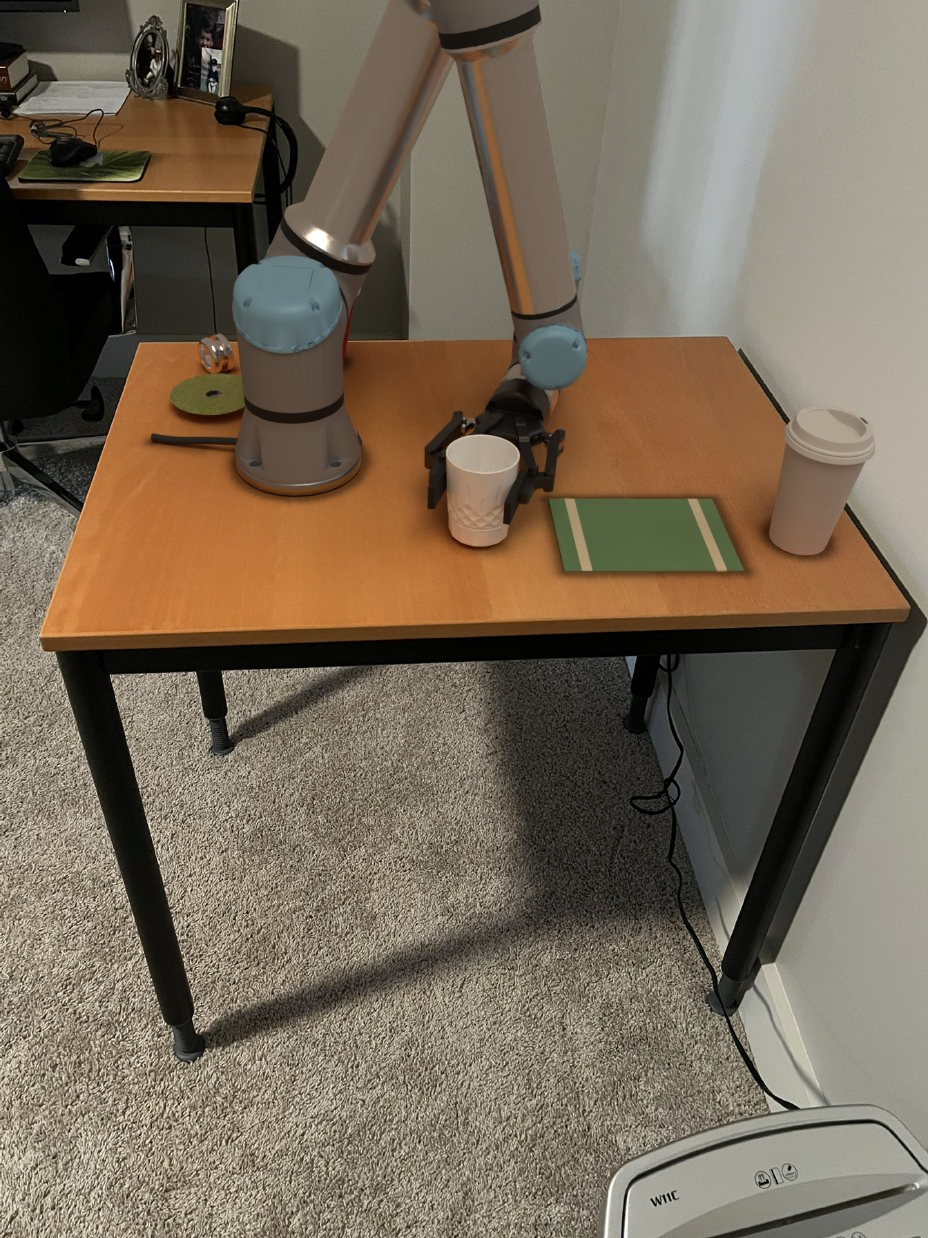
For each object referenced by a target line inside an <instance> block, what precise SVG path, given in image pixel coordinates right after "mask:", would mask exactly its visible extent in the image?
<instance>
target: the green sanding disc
mask: <svg viewBox="0 0 928 1238" xmlns="http://www.w3.org/2000/svg"><path fill="white" fill-rule="evenodd" d="M169 400H170V402H171V404H172V405H173V406H175V408H177V409H179V410H181V411H184V412H187V413H189V414H196V415H198V416H199V415H201V416H202V415H203V416H215V415H226V414H230V413H232V412H237V411H238V410H241V409H243V408H245V402H244V393H243V386H242V377H241V375H235V374H230V373H228V374H227V373H222V372H220V373H214V374H212V373H207V374H201V375H195V376H193V377H188V378H187V379H184V380H182V381H180V382H179V383H177V384H176V385H175V386H173V388H172V389H171V390H170V393H169Z"/></svg>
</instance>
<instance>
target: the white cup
mask: <svg viewBox="0 0 928 1238" xmlns="http://www.w3.org/2000/svg"><path fill="white" fill-rule="evenodd" d="M519 458H520V453H519V451H518V449H517V448H516V446H515V445H513V444H512V443H511V442H509V441H507V440H505V439H503V438H500V437H496V436H491V435H469V436H467V435H466V436H465V437H461V438H459V439H457V440H455V441H453V442H452V443H451V444H450V445H449V446H448V447H447V449H446V480H447V489H446V497H447V498H446V501H447V503H446V504H447V512H448V529H449V532H450V534H451V536H452V538H454V539H455V540H457V541H458V542H459V543H461V544H464V545H468V546H471V547H489V546H493V545H496V544H499V543H501V542H502V541H503V540H504V539H506V538H507V537H508V532H509V530H510V525H507V524H503V513H504V502H505V500H506V498H507V496H508V494H509V492H510V490H511V487H512V485H513V483H514V481H515V480H516V478H517V475H518V473H519Z"/></svg>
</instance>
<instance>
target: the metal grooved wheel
mask: <svg viewBox="0 0 928 1238" xmlns="http://www.w3.org/2000/svg"><path fill="white" fill-rule="evenodd" d="M197 351H198V357H199V359H200V362H201V364H202V366H203V367H204V369H205V370H206V371H207V372H208V373H209V374H214V373H217V374H220V373H221V371H222V372H227V371H229V370H230V371H231V370H232V369H233V368H234V367H235V355H234V352H233V348H232V346H231V344H230V342H229V340H228V339H227V338H226V337H225V335H223V334H222V333H215V334H213V335H211V336H210V337H208V336H206V337H203V338H201V339H200V340H199V341H198V346H197Z"/></svg>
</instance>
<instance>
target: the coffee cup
mask: <svg viewBox="0 0 928 1238" xmlns="http://www.w3.org/2000/svg"><path fill="white" fill-rule="evenodd" d="M782 432H783V435H782V437H783V439H784V441H785V445H784V451H783V455H782V456H783V457H782V461H781V468H780V472H779V478H778V482H777V488H776V493H775V494H776V495H775V499H774V503H773V509H772V514H771V520H770V525H769V530H768V537H769V539H770V541H771V542H772V543H773V544H774V545H775V546H776V547H777V548H778V549H780V550H782V551H784V552H787V553H789V554H793V555H797V556H815V555H818V554H820V553H822V552H824V551H825V549H826V547H827V545H828V543H829V542H830V539H831V536H832V535H833V532H834V530H835V528H836V526H837V523H838V522H839V519H840V517H841V515H842V513H843V511H844V509H845V507H846V504H847V502H848V501H849V498H850V496H851V494H852V493H853V490H854V487H855V485H856V483H857V480H858V479H859V476H860V474H861V473H862V471H863V468H864V466H865V464H866V463H867V461H869V460H870V459H872V458H873V457H874V455H875V453H876V438H875V436H874V428H873V426H872V425H871V423H870V422H869V420H867V419H866V418H865V417H863V416H862V415H861V414H858V413H856V412H854V411H851V410H849V409H846V408H842V407H838V406H832V405H812V406H808V407H804V408H802V409H801V410H799V411H798V412H797V414H796V415H795V416H794V417H793V418H791V419H790V421H789V422H787V424H786V426H785V428H783V431H782Z"/></svg>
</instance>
